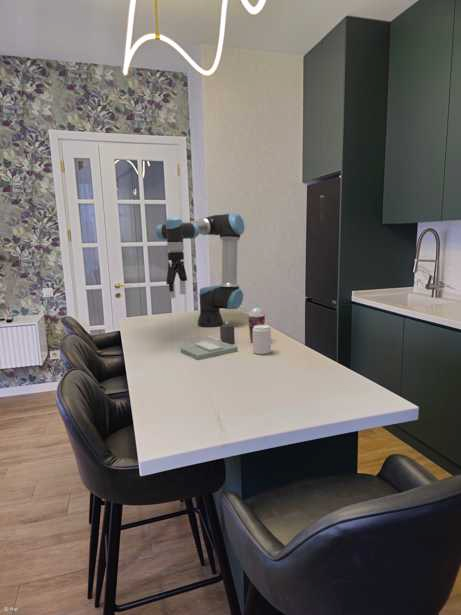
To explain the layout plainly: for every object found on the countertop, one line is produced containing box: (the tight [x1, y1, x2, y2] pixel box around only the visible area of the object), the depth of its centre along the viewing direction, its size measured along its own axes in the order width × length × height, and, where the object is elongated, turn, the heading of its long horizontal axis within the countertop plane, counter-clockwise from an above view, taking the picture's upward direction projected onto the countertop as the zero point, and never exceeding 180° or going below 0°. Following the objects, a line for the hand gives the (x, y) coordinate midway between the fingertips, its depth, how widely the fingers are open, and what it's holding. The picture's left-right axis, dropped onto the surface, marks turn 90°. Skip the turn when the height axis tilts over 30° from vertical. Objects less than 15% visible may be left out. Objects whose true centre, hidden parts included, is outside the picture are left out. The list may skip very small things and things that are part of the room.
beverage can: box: [252, 324, 272, 355], centre depth 180 cm, size 8×8×12 cm
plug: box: [219, 320, 236, 345], centre depth 197 cm, size 5×5×11 cm
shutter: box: [194, 334, 223, 351], centre depth 184 cm, size 7×13×4 cm, turn 35°
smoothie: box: [247, 301, 266, 344], centre depth 197 cm, size 8×8×20 cm
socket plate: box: [180, 342, 239, 361], centre depth 184 cm, size 21×16×2 cm
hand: (177, 296), depth 193 cm, fingers open, 13 cm apart
